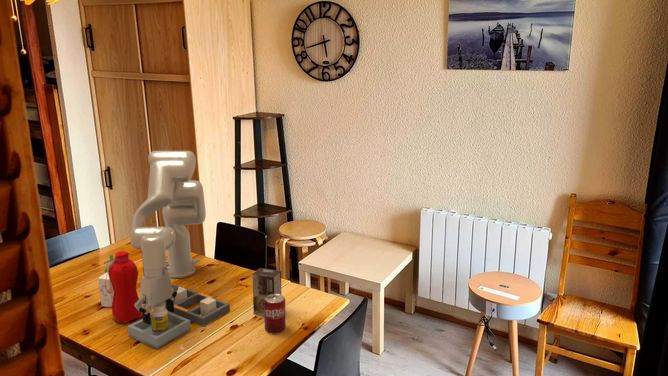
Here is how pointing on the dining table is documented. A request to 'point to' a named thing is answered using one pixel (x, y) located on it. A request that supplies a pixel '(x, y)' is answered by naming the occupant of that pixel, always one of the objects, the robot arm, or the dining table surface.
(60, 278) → the dining table surface
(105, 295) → the ink cartridge box
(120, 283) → the water bottle
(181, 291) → the block
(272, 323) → the soda can
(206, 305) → the block
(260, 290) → the coffee box
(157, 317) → the supplement bottle
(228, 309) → the holder block
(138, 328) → the tray
